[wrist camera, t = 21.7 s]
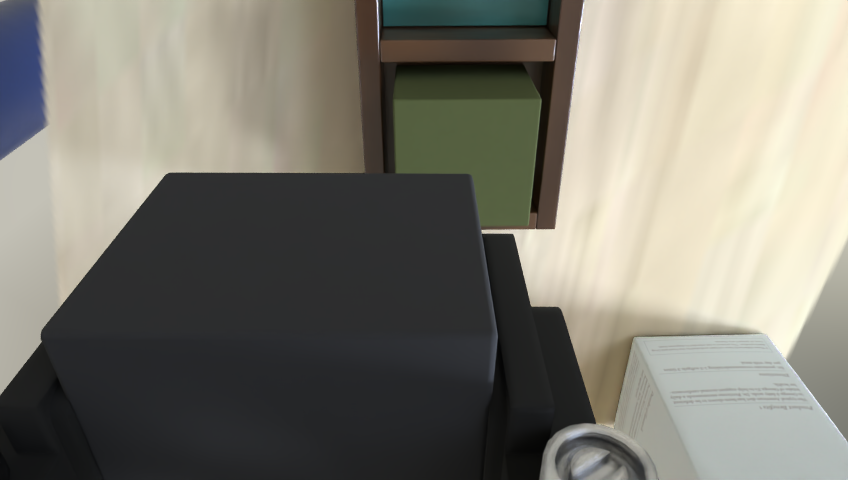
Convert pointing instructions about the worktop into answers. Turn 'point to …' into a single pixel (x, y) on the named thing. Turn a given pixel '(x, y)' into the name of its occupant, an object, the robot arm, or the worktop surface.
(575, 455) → the robot arm
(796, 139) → the worktop surface
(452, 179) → the dark grey block
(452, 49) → the brown divided tray
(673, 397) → the white packaging box
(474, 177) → the olive green block
